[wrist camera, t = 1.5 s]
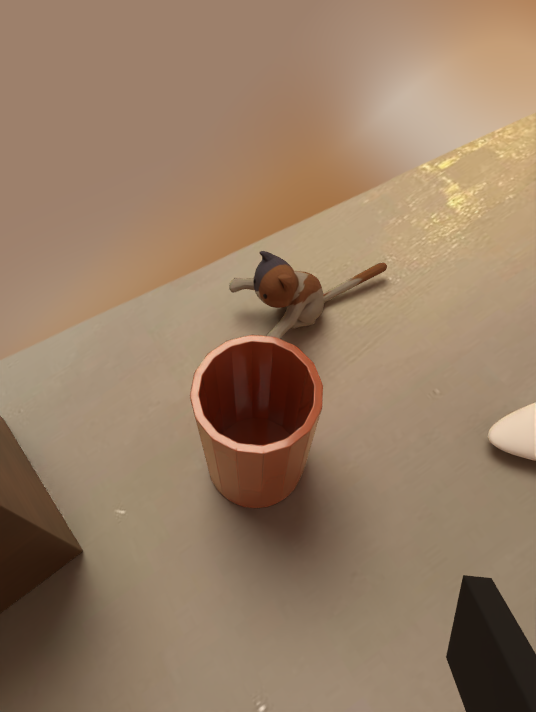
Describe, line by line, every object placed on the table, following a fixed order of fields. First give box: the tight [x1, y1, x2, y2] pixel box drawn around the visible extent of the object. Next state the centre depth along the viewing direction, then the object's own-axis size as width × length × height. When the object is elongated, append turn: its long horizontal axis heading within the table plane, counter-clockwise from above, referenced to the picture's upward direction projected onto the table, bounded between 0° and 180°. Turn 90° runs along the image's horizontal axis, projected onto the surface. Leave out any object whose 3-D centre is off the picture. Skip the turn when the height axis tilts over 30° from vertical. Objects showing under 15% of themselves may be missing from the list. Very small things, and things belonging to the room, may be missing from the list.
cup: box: [190, 335, 323, 508], centre depth 32 cm, size 7×7×12 cm
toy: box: [229, 251, 387, 339], centre depth 42 cm, size 8×15×8 cm, turn 119°
